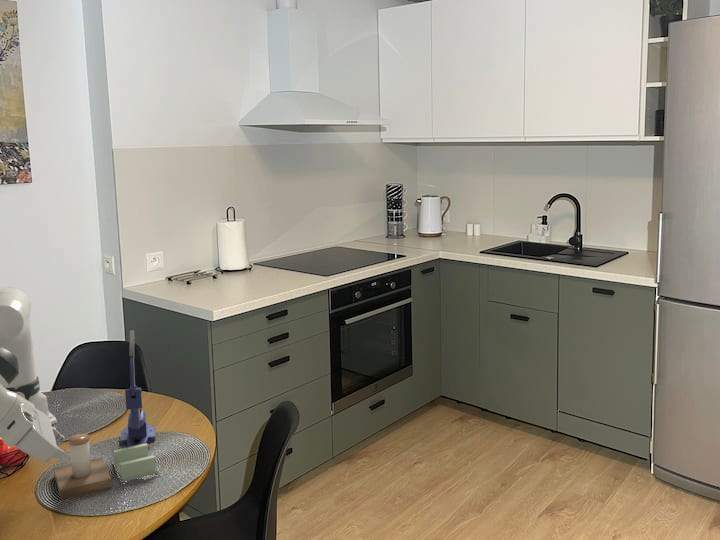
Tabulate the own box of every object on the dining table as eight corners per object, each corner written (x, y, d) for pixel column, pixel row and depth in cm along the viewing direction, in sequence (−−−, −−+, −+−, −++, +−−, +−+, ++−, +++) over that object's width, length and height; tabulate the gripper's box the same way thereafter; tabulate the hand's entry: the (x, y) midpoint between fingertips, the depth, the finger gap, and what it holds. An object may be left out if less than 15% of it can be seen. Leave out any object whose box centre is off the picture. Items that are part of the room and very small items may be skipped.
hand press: (155, 453, 176) (148, 349, 170) (119, 457, 173) (111, 352, 168) (155, 423, 193) (148, 328, 188) (122, 427, 191) (115, 330, 185)
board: (54, 477, 163) (53, 468, 163) (102, 466, 169) (102, 457, 168) (61, 501, 153) (60, 491, 153) (112, 488, 159) (111, 478, 158)
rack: (114, 464, 169) (112, 449, 168) (146, 456, 173) (145, 442, 172) (122, 482, 161) (121, 466, 160) (156, 473, 164) (155, 458, 164)
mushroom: (70, 471, 161) (67, 436, 159) (90, 467, 163) (87, 432, 161) (73, 479, 157) (70, 443, 156) (93, 475, 160) (90, 439, 158)
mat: (110, 462, 171) (110, 461, 170) (147, 454, 175) (147, 453, 175) (122, 488, 159) (122, 486, 159) (161, 478, 163) (161, 476, 163)
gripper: (1, 412, 158) (51, 442, 165) (5, 447, 141) (60, 480, 147) (21, 390, 159) (69, 421, 166) (27, 423, 142) (81, 456, 149)
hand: (65, 449), depth 157 cm, fingers open, 8 cm apart
